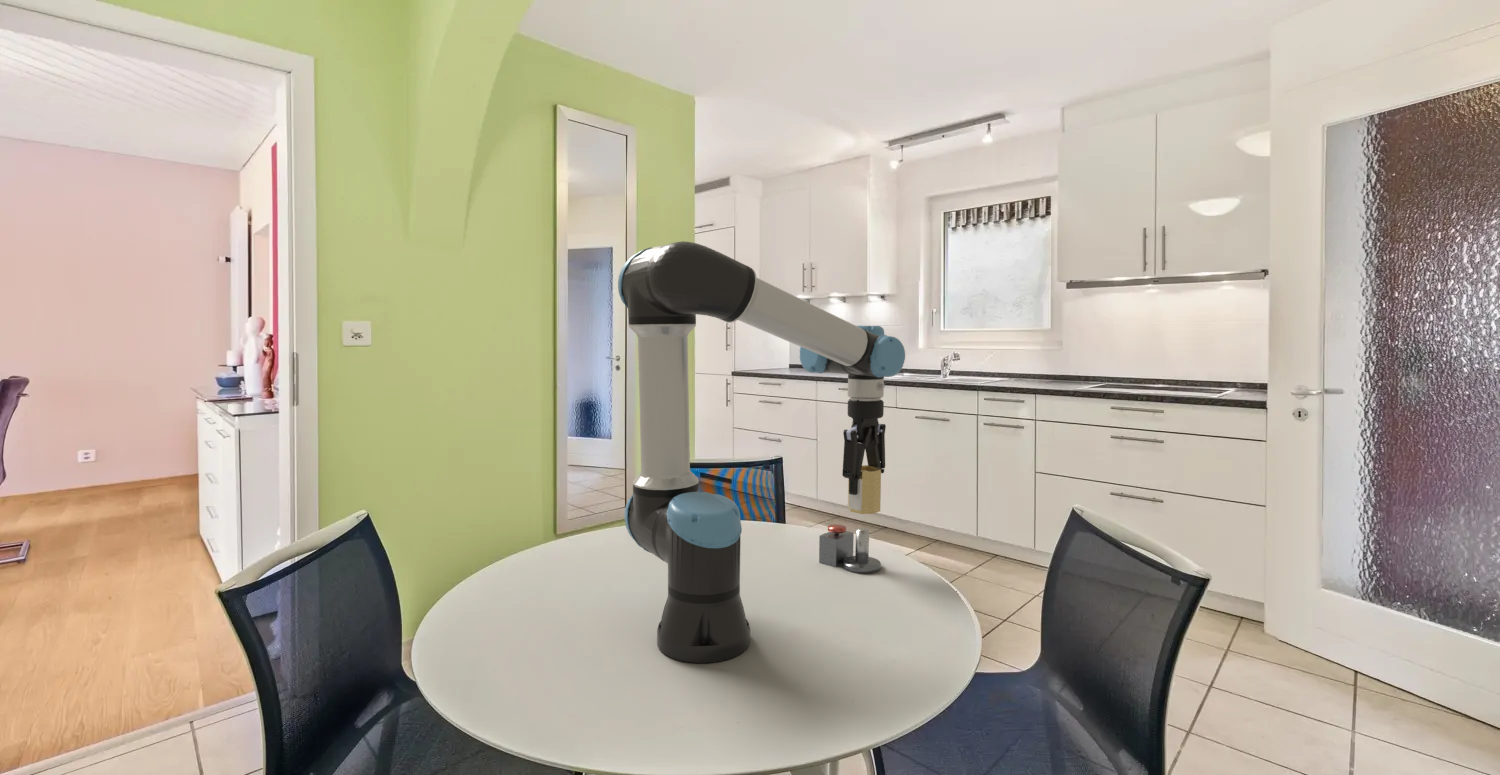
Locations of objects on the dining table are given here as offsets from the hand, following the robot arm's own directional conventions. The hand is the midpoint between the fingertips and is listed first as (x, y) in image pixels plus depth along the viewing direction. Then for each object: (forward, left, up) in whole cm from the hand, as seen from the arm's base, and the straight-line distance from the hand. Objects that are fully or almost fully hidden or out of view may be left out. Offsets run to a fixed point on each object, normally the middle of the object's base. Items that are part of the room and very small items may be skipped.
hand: (863, 505), depth 146 cm
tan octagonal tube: (0, 0, -1) cm, 1 cm away
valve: (0, +2, -14) cm, 14 cm away
